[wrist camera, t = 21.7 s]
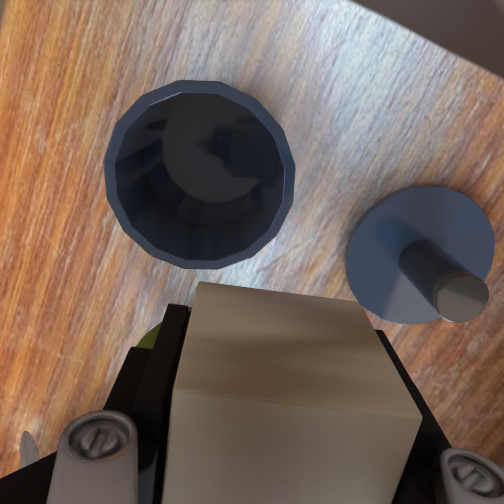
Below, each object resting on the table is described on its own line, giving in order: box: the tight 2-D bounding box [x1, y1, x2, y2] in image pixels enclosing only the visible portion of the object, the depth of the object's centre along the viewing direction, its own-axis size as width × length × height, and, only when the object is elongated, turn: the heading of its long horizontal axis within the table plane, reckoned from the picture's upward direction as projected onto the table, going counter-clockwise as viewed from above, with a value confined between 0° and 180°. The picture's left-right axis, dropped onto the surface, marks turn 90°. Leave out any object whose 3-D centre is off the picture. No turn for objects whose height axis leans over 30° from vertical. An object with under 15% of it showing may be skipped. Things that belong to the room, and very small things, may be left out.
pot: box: [103, 80, 295, 270], centre depth 26 cm, size 10×10×8 cm
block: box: [161, 281, 422, 504], centre depth 10 cm, size 4×4×4 cm
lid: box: [345, 185, 494, 324], centre depth 29 cm, size 11×11×8 cm
